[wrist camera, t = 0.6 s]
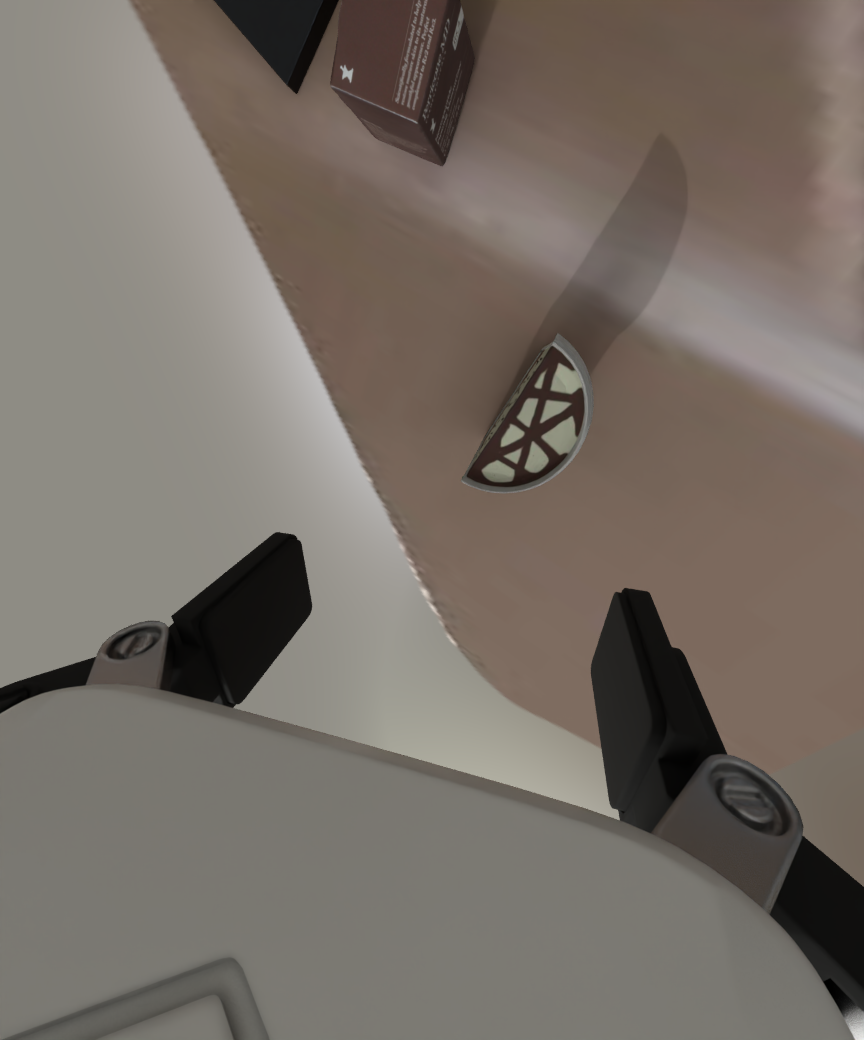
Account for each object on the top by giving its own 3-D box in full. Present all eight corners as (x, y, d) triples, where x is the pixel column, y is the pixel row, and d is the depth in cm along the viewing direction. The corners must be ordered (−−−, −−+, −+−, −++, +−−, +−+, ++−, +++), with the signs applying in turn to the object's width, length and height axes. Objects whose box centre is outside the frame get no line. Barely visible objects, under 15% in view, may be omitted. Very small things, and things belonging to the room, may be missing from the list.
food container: (526, 482, 38) (523, 528, 29) (476, 449, 38) (457, 486, 29) (614, 370, 32) (642, 387, 23) (553, 330, 31) (558, 333, 23)
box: (444, 170, 28) (417, 127, 22) (373, 139, 29) (326, 87, 22) (477, 57, 25) (457, -30, 19) (397, 22, 26) (351, -75, 19)
